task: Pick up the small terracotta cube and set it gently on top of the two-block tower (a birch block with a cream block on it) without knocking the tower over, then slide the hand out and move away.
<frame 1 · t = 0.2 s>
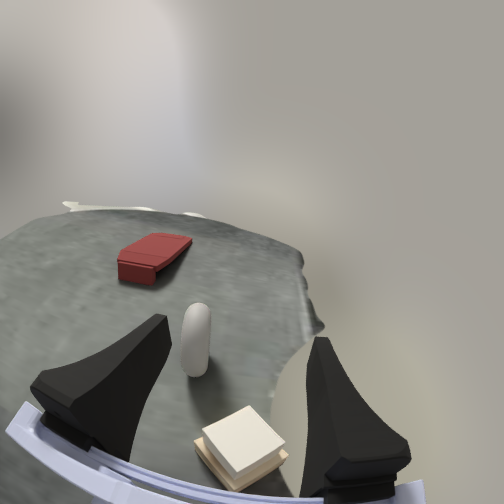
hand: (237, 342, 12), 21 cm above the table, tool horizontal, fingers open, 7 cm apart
cream top block: (240, 448, 22), point 3 cm above the table
red elongated bent piece: (156, 258, 64), on the table
donut: (197, 365, 36), on the table
birch base block: (238, 459, 23), on the table
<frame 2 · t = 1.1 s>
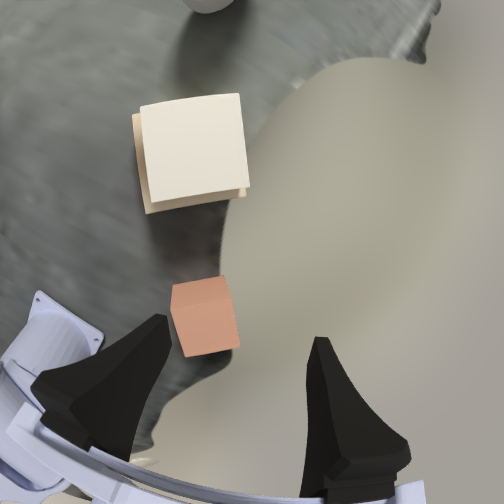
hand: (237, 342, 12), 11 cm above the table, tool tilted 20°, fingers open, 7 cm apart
cream top block: (193, 149, 17), point 3 cm above the table, touching birch base block
terracotta cube: (203, 302, 23), on the table
birch base block: (188, 156, 20), on the table, touching cream top block
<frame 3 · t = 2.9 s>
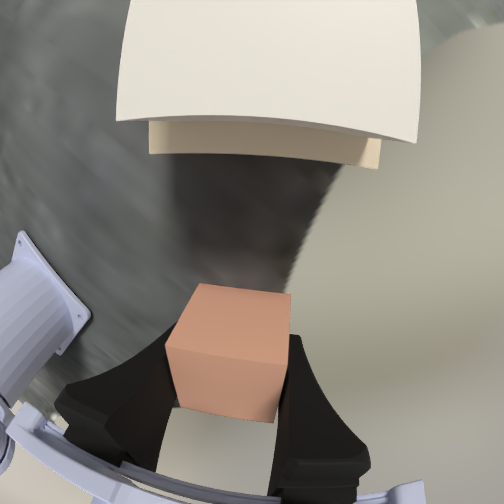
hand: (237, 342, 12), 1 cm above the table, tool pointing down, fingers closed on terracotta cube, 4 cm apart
cream top block: (278, 36, 6), point 3 cm above the table
terracotta cube: (242, 324, 14), on the table, touching gripper
birch base block: (272, 67, 9), on the table
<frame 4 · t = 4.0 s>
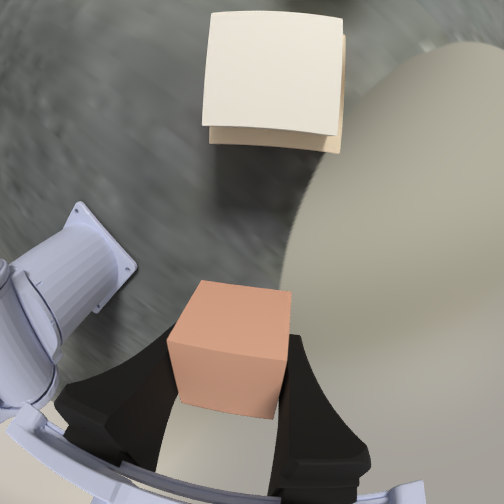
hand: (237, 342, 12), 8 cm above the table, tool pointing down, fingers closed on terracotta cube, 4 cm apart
cream top block: (277, 79, 12), point 3 cm above the table, touching birch base block
terracotta cube: (243, 321, 14), point 6 cm above the table, touching gripper
birch base block: (280, 92, 15), on the table, touching cream top block
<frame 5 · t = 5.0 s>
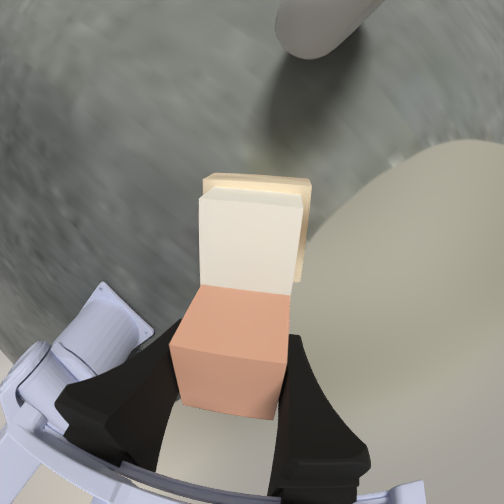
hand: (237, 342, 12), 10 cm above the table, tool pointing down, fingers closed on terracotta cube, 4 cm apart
cream top block: (254, 230, 18), point 3 cm above the table, touching birch base block
terracotta cube: (243, 324, 14), point 9 cm above the table, touching gripper
donut: (329, 28, 14), on the table
birch base block: (259, 218, 21), on the table, touching cream top block
when the fingers open (9 cm above the table, at t = 6.2 s): terracotta cube stays where it is, resting on cream top block.
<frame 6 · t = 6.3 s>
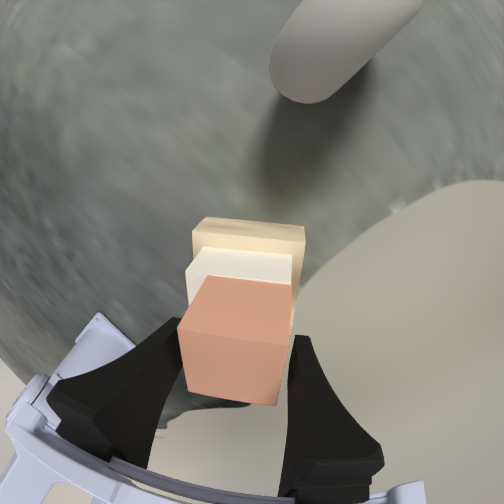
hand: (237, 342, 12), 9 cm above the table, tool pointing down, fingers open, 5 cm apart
cream top block: (245, 289, 18), point 3 cm above the table, touching birch base block, terracotta cube
terracotta cube: (247, 313, 15), point 6 cm above the table, touching cream top block
donut: (332, 55, 13), on the table
birch base block: (251, 263, 21), on the table, touching cream top block
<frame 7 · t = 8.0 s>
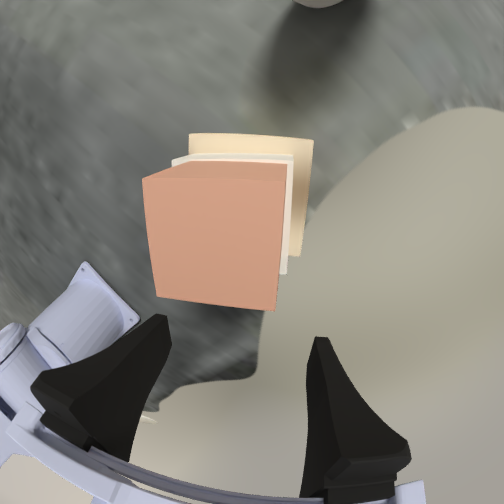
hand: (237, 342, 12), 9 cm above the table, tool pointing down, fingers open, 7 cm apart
cream top block: (242, 201, 16), point 3 cm above the table, touching birch base block, terracotta cube
terracotta cube: (236, 208, 12), point 6 cm above the table, touching cream top block
birch base block: (253, 184, 18), on the table, touching cream top block
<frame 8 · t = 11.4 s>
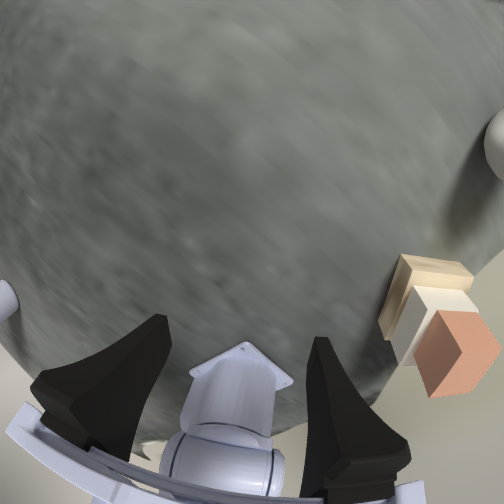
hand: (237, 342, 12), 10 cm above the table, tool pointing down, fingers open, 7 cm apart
spray bottle: (10, 293, 32), on the table
cream top block: (427, 315, 19), point 3 cm above the table, touching terracotta cube
terracotta cube: (446, 334, 16), point 6 cm above the table, touching cream top block
donut: (493, 131, 14), on the table
birch base block: (419, 290, 22), on the table
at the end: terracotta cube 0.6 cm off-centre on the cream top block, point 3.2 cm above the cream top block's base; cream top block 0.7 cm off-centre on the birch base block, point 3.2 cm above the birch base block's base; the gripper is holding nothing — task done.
